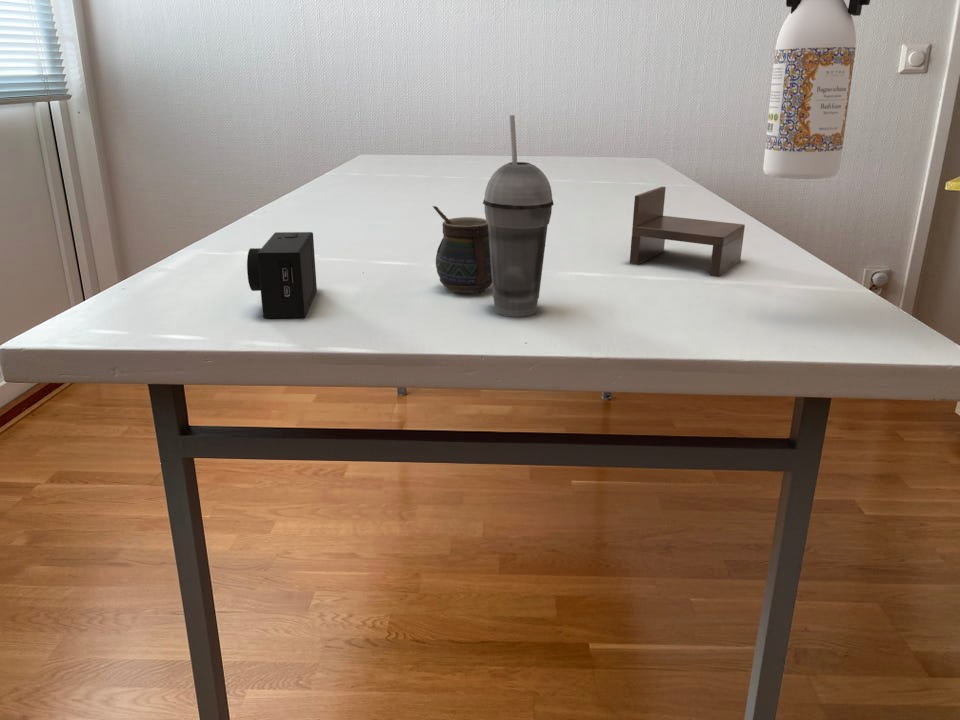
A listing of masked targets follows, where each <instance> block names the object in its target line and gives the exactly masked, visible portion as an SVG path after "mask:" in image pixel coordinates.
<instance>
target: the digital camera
mask: <svg viewBox="0 0 960 720" xmlns="http://www.w3.org/2000/svg"><path fill="white" fill-rule="evenodd" d="M315 257H316V256H315V242H314V232H312V231H293V232H292V231H287V232H286V231H283V232H282V231H281V232H280V231H279V232H277V231H276V232H274V233H273V234H272V235H271V236H270V237H269V239H268V240H267V241H266V242H265V243H264V245H262V247H259V248H256V247H254V248H253V247H251V248H249V249H248V252H247V259H246V271H247V272H246V273H247V282H248V285H249V289H250V290H251V291H252V292H260V298H261V309H262V317H263V319H295V318H296V319H297V318H298V319H300V318H301V319H305V318H306V316H307V314H308V311H309V309H310V306H311V305H312V303H313V301H314V298H315V296H316V294H317V291H318V285H317V270H316V269H317V268H316V258H315Z"/></svg>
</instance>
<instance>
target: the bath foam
mask: <svg viewBox="0 0 960 720" xmlns="http://www.w3.org/2000/svg"><path fill="white" fill-rule="evenodd" d="M856 47H857V33H856V27H855V23H854V19H853V15H851V14H850V13H848V5H847V3H846V2H845V0H801V3H800V4H799V5H798V7H797V8H796V10H795V11H794V12H793V13H792V14H791V11H790V12H789V13H788V15H787V17H786V18H785V20H784V22H783V24H782V26H781V28H780V30H779V33H778V36H777V40H776V44H775V48H774V56H773V64H772V75H771V84H770V85H771V86H770V96H769V105H768V116H767V126H766V127H767V128H766V134H765V135H766V137H765V143H764V145H765V146H764V157H763V167H762V168H763V173H764V174H765V175H766V176H768V177H772V178H779V179H791V180H792V179H793V180H821V179H831V178H833V177H835V176H837V175H838V174H839V172H840V167H841V161H842V152H843V146H844V140H845V131H846V125H847V118H848V117H847V116H848V109H849V101H850V94H851V86H852V79H853V71H854V66H855V65H854V63H855V58H856V57H855V56H856V51H857V50H856Z"/></svg>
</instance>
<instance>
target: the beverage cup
mask: <svg viewBox="0 0 960 720" xmlns="http://www.w3.org/2000/svg"><path fill="white" fill-rule="evenodd" d="M509 129H510V131H509V133H510V148H511V149H510V150H511V162H507V163H505V164H503V165H502V166H500V167H499V168H497V169H496V170H495V171H494V172H493V173H492V175H491V176H490V178H489V179H488V181H487V185H486V187H485V191H484V198H483V201H482V205H484V215H485V219H486V222H487V223H488V233H489V247H490V261H491V275H492V284H491V286H492V287H491V288H492V298H493V305H494V312H495V313H496V314H498V315H500V316H503V317H511V318H522V317H530V316H533V315H535V314H536V313H537V306H538V303H539V298H540V291H541V283H542V274H543V267H544V258H545V249H546V243H547V242H546V241H547V234H548V226H549V225H550V220H551V216H552V211H553V210H552V209H553V206H554V200H553V193H552V186H551V184H550V182H549V179H548V177H547V176H546V175H545V173H544V172H543V170H541V169H540V168H539V167H537V166H536V165H535V164H532V163H530V162H525V161H518V150H517V133H516V116H515V114H513V115H512V114H511V115H509Z"/></svg>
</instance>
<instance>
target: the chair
mask: <svg viewBox="0 0 960 720" xmlns="http://www.w3.org/2000/svg"><path fill="white" fill-rule="evenodd" d="M666 189H667V187H666V186H660V187H656V188H654V189H651V190H647V191H645V192H642V193H639V194H636V195H634V202H633V213H632V214H633V216H632V227H631V229H632V230H631V238H630V239H631V240H630V250H629V251H630V253H629V264H630V265H640V264H641V263H644V262H645V261H648V260H649V259H651V258H652V257H655V256H657V255H658V254H661V253H662V252H664V251H665V243H666V240H667V241H674V242H682V243H692V244H697V245H698V244H699V245H707V246H712V251H711V260H710V268H709V276H713V277H714V276H715V277H720V276H722V275H723V274H724V273H726V272H727V271H728V270H730V269H731V268H733V267H734V266H735V265H736V264H738V263H740V262H741V259H742V258H741V257H742V250H743V245H744V244H743V243H744V235H745V227H746V224H743V223H737V222H736V223H734V222H726V221H718V220H717V221H716V220H708V219H699V218H698V219H697V218H689V217H679V216H670V215H664V211H665V210H664V208H665V200H666V199H665V198H666Z"/></svg>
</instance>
